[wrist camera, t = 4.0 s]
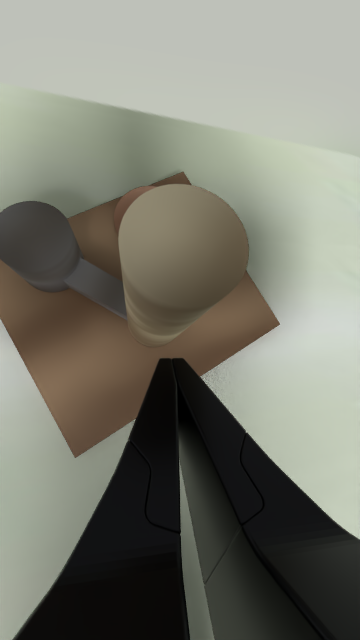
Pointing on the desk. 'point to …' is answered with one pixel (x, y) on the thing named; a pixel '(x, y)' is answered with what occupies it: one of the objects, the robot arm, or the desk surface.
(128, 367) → the brown board
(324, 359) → the desk surface
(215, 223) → the crank handle
